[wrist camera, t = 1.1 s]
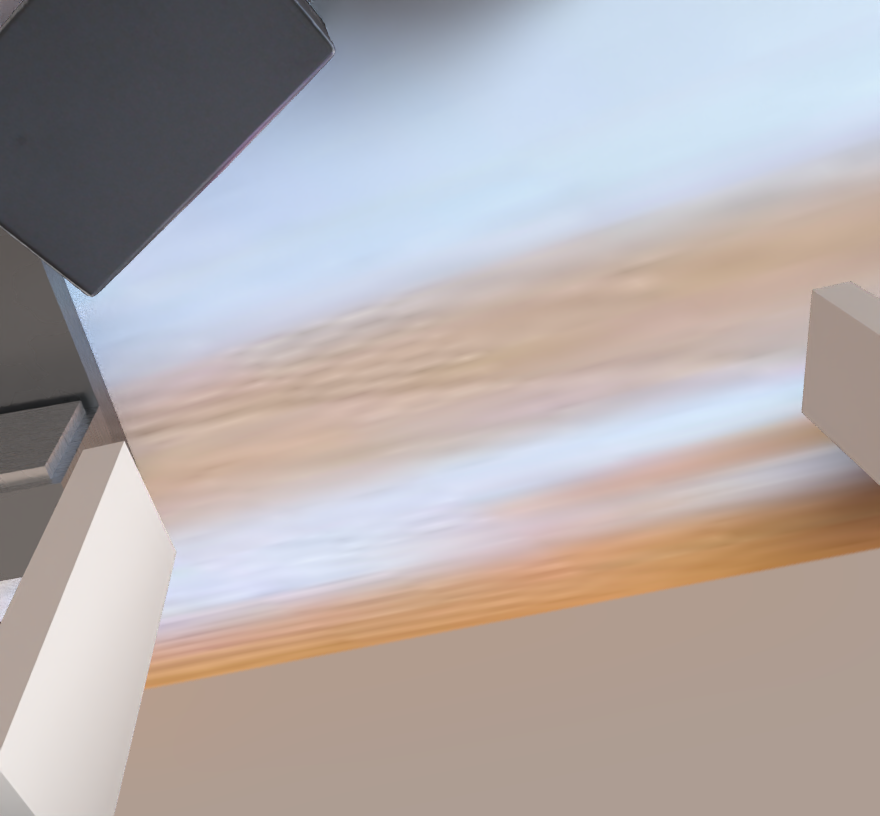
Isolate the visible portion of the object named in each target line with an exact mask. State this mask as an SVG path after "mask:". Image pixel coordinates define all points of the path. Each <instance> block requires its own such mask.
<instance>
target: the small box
mask: <svg viewBox="0 0 880 816" xmlns="http://www.w3.org/2000/svg"><path fill="white" fill-rule="evenodd" d="M334 54H335V47H334V45H333V43H332V41H331V40H330V37H329V35H328V32H327V30H326V27H325V24H324V22H323V21H322V19H321V18H320V17H319V16H318V15H317V14H316V12H315V11H314V10H313V8H312V7H311V6H310V5H309V4H308V2H307V1H306V0H24V1H23V2H22V3H21V4H20V5H19V6H18V8H17V9H16V10H15V11H14V12H13V13H12V15H11V16H10V17H9V18H8V20H7V21H6V22H5V23H4V24H3V25H2V26H1V28H0V227H1V228H2V229H3V230H4V231H5V232H7V233H8V234H9V235H10V236H11V237H13V238H14V239H15V240H17V241H18V242H20V243H21V244H22V245H23V246H24V247H26V248H27V249H28V250H30V251H31V252H32V253H33V254H34V255H35V256H37V257H38V258H40V259H41V260H42V261H44V262H45V263H46V264H47V265H49V266H50V267H51V268H52V269H54V270H55V271H56V272H57V273H59V274H60V275H61V276H62V277H64V278H65V279H67V280H68V281H69V282H70V283H72V284H73V285H74V286H75V287H77V288H78V289H80V290H81V291H82V292H83V293H84V294H86V295H87V296H91V297H93V296H95V295H97V294H98V293H99V292H100V291H101V290H102V289H103V288H104V287H105V286H106V285H107V284H108V283H109V282H110V281H111V280H112V279H113V278H114V277H115V276H116V275H118V274H119V273H120V272H121V271H122V270H123V269H124V268H125V267H126V266H127V265H128V264H129V263H130V262H131V261H132V260H133V259H134V258H135V257H136V256H137V255H138V254H139V253H140V252H141V251H142V250H143V249H144V248H145V247H146V246H147V245H148V244H149V243H150V242H151V241H152V240H153V239H154V238H155V237H156V236H157V235H158V234H159V233H160V232H161V231H162V230H163V229H164V228H165V227H166V226H167V225H168V224H169V223H170V222H171V221H172V220H173V219H174V218H175V217H176V216H177V215H178V214H179V213H180V212H182V211H183V210H184V209H185V208H186V207H187V206H188V205H189V204H190V203H191V202H192V201H193V200H194V199H195V198H196V197H197V196H198V195H199V194H200V193H201V192H202V191H203V190H204V189H205V188H206V187H207V186H208V185H209V184H210V183H211V182H212V181H213V180H214V179H215V178H216V177H217V176H218V175H219V174H220V173H221V172H222V171H223V170H224V169H225V168H226V167H227V166H228V165H229V164H230V163H231V162H232V161H233V160H234V159H235V158H236V157H237V156H238V155H239V154H240V153H241V152H242V151H243V150H244V149H245V148H246V147H247V146H248V145H249V144H250V142H251V141H252V140H253V139H254V138H255V137H256V136H257V135H258V134H259V133H260V132H261V131H262V130H263V129H264V128H265V127H266V126H267V125H268V124H269V123H270V122H271V121H272V120H273V119H274V118H275V117H276V116H277V115H278V114H279V113H280V112H281V111H282V110H283V109H284V107H285V106H286V105H287V104H288V103H289V102H290V101H291V100H292V99H293V98H294V97H295V96H296V95H297V94H298V93H299V92H300V91H301V90H302V89H303V88H304V87H305V86H306V85H307V84H308V83H309V82H310V81H311V80H312V78H313V77H314V76H315V75H316V74H317V73H318V72H319V71H320V70H321V69H322V68H323V67H324V66H325V64H326V63H327V62H328V61H329V60H330V59H331V58H332V57H333V56H334Z"/></svg>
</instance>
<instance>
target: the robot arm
mask: <svg viewBox="0 0 880 816" xmlns="http://www.w3.org/2000/svg"><path fill="white" fill-rule="evenodd" d="M802 413H803V414H804V415H805V416H806V417H807V418H808V419H809V420H810V421H811V422H812V423H814V424H815V425H816V426H817V427H818V428H819V429H820V430H821V431H822V432H823V433H824V434H825V435H826V436H827V437H828V438H830V439H831V440H832V441H833V442H834V443H835V444H836V445H837V446H838V447H839V448H840V449H841V450H842V451H843V452H844V453H845V454H847V455H848V456H849V457H850V458H851V459H852V460H853V461H854V462H855V463H856V464H857V465H858V466H859V467H860V468H861V469H863V470H864V471H865V472H866V473H867V474H868V475H869V476H870V477H871V478H872V479H873V480H874V481H875V482H876V483H877V484H878V485H880V299H879V298H878V297H876V296H874V295H873V294H871V293H869V292H868V291H866V290H865V289H863V288H861V287H860V286H858V285H856V284H855V283H853V282H851V281H850V282H846V283H841V284H837V285H832V286H828V287H823V288H818V289H814V290H812V296H811V308H810V320H809V331H808V343H807V354H806V366H805V378H804V389H803V401H802ZM175 556H176V550H175V548H174V546H173V544H172V542H171V540H170V538H169V535H168V533H167V531H166V529H165V527H164V525H163V523H162V520H161V518H160V516H159V514H158V512H157V510H156V508H155V505H154V503H153V501H152V499H151V497H150V495H149V493H148V490H147V488H146V486H145V484H144V482H143V480H142V478H141V475H140V473H139V471H138V469H137V467H136V465H135V463H134V460H133V458H132V456H131V454H130V452H129V450H128V448H127V445H126V443H125V441H122V442H117V443H112V444H108V445H103V446H99V447H94V448H90V449H85V450H83V451H82V453H81V455H80V457H79V460H78V462H77V464H76V466H75V468H74V470H73V472H72V474H71V476H70V478H69V481H68V483H67V485H66V487H65V489H64V491H63V493H62V495H61V497H60V499H59V502H58V504H57V506H56V508H55V510H54V512H53V514H52V516H51V518H50V520H49V523H48V525H47V527H46V529H45V531H44V533H43V535H42V537H41V539H40V541H39V544H38V546H37V548H36V550H35V552H34V554H33V556H32V558H31V560H30V562H29V565H28V567H27V569H26V571H25V573H24V575H23V577H22V579H21V581H20V583H19V586H18V588H17V590H16V592H15V594H14V596H13V598H12V600H11V602H10V604H9V607H8V609H7V611H6V613H5V615H4V617H3V619H2V621H1V622H0V816H114V813H115V809H116V805H117V800H118V796H119V792H120V788H121V783H122V779H123V775H124V771H125V767H126V762H127V758H128V754H129V750H130V746H131V741H132V737H133V733H134V729H135V725H136V720H137V716H138V712H139V707H140V704H141V699H142V695H143V691H144V687H145V682H146V678H147V674H148V670H149V666H150V661H151V657H152V653H153V649H154V645H155V640H156V636H157V632H158V628H159V624H160V619H161V615H162V611H163V607H164V602H165V598H166V594H167V590H168V586H169V581H170V577H171V573H172V569H173V565H174V560H175Z"/></svg>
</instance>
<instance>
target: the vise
mask: <svg viewBox="0 0 880 816" xmlns="http://www.w3.org/2000/svg"><path fill="white" fill-rule="evenodd" d="M122 441H125V443H126V445H127V448H128V450H129V452H130V454H131V456H132V458H133V455H132V453H131V450H130V448H129V445H128V443H127V440H126V438H125V435H124V432H123V430H122V427H121V425H120V422H119V420H118V417H117V414H116V412H115V409H114V407H113V404H112V402H111V399H110V396H109V394H108V391H107V389H106V386H105V384H104V381H103V378H102V376H101V373H100V371H99V368H98V366H97V363H96V360H95V358H94V355H93V353H92V350H91V348H90V345H89V343H88V340H87V337H86V335H85V332H84V330H83V327H82V325H81V322H80V319H79V317H78V314H77V312H76V309H75V307H74V304H73V301H72V299H71V296H70V294H69V291H68V289H67V286H66V283H65V281H64V278H63V277H62V276H61V275H60V274H59V273H57V272H56V271H55V270H54V269H52V268H51V267H50V266H49V265H47V264H46V263H45V262H44V261H42V260H41V259H40V258H38V257H37V256H35V255H34V254H33V253H32V252H31V251H30V250H28V249H27V248H26V247H24V246H23V245H22V244H21V243H20V242H18V241H17V240H15V239H14V238H13V237H11V236H10V235H9V234H8V233H7V232H5V231H4V230H3V229H2V228H1V227H0V581H3V580H8V579H14V578H19V577H23V575H24V573H25V571H26V569H27V567H28V565H29V562H30V560H31V558H32V556H33V554H34V552H35V550H36V548H37V546H38V544H39V541H40V539H41V537H42V535H43V533H44V531H45V529H46V527H47V525H48V523H49V520H50V518H51V516H52V514H53V512H54V510H55V508H56V506H57V504H58V502H59V499H60V497H61V495H62V493H63V491H64V489H65V487H66V485H67V483H68V481H69V478H70V476H71V474H72V472H73V470H74V468H75V466H76V464H77V462H78V460H79V457H80V455H81V453H82V451H83V450H85V449H90V448H94V447H99V446H103V445H108V444H112V443H117V442H122ZM133 460H134V458H133ZM134 463H135V461H134ZM135 465H136V463H135ZM136 467H137V466H136ZM137 469H138V468H137Z"/></svg>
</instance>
